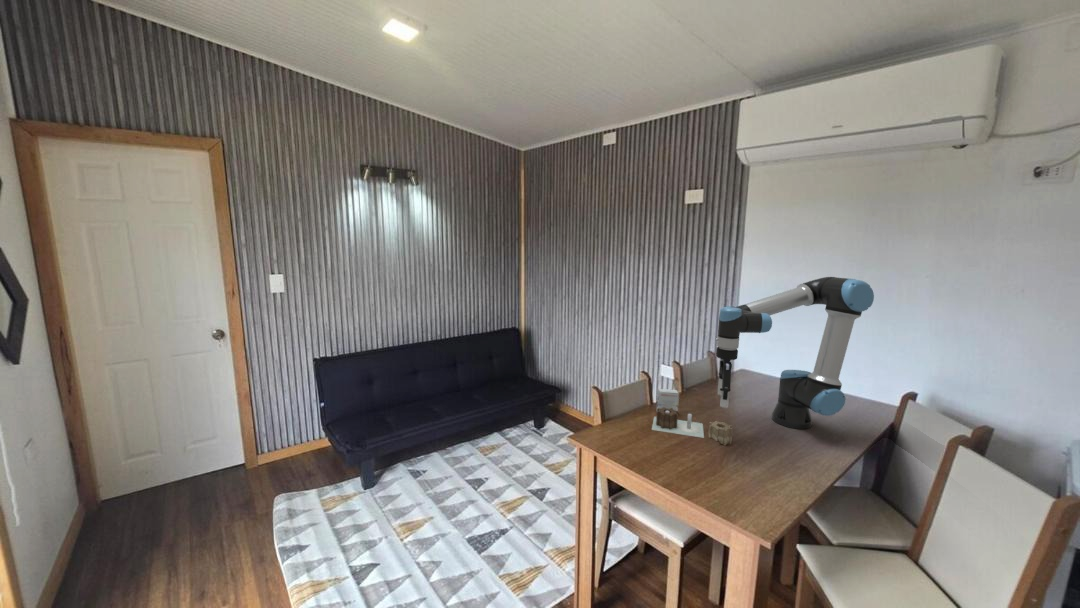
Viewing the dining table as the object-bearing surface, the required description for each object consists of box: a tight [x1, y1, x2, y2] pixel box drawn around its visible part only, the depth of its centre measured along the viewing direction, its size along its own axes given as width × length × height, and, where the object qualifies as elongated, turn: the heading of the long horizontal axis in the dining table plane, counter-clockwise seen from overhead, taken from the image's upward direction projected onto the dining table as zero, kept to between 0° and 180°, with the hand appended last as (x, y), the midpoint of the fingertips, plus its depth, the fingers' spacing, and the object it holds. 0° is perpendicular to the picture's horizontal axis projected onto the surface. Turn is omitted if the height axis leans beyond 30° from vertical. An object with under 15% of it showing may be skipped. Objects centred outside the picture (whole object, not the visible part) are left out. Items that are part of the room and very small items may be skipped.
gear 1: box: [656, 407, 679, 429], centre depth 176 cm, size 8×8×6 cm
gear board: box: [651, 411, 705, 439], centre depth 175 cm, size 20×14×7 cm
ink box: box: [655, 388, 680, 412], centre depth 188 cm, size 9×5×12 cm, turn 84°
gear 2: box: [708, 420, 734, 446], centre depth 166 cm, size 8×8×6 cm
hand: (722, 400), depth 164 cm, fingers open, 13 cm apart
